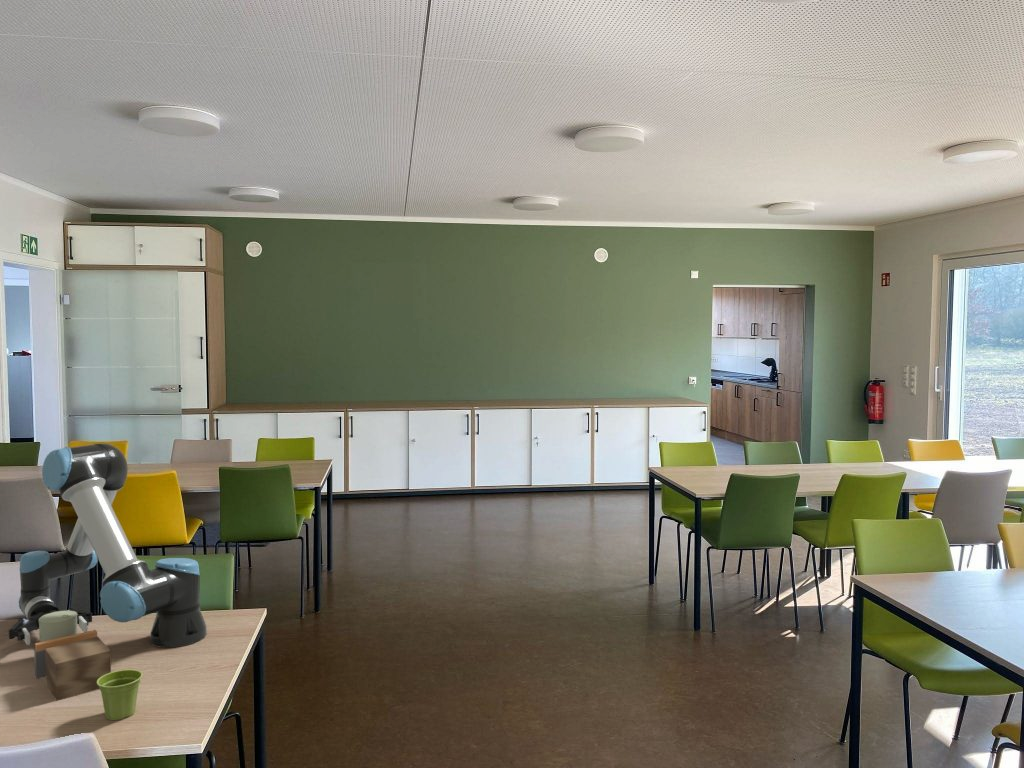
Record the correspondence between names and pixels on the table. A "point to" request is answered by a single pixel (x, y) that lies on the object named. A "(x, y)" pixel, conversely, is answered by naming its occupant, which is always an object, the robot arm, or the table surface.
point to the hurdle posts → (40, 663)
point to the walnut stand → (76, 667)
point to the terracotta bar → (65, 640)
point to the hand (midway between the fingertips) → (57, 633)
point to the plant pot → (119, 693)
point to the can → (57, 625)
